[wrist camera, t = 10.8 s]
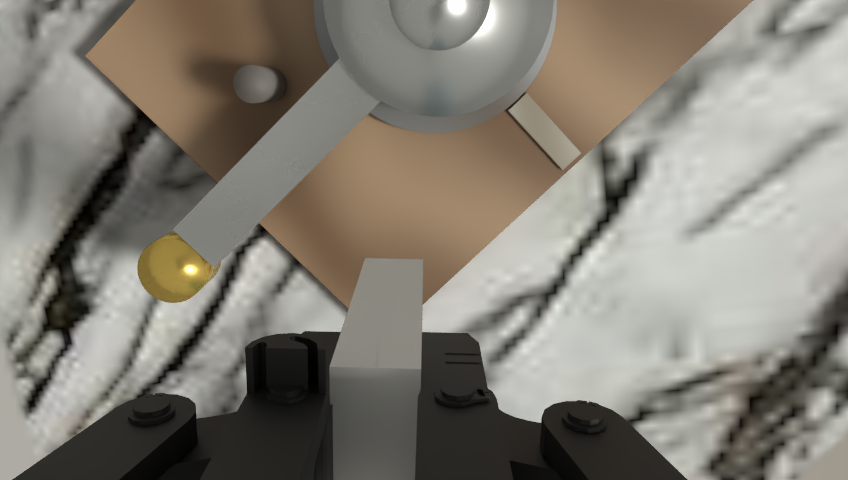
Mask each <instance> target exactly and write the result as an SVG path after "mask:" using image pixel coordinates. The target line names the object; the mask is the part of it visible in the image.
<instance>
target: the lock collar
mask: <svg viewBox="0 0 848 480" xmlns="http://www.w3.org/2000/svg"><path fill="white" fill-rule="evenodd" d="M323 4H324V14H325V19H326V24H327V29H328V32H329V35H330V38H331V41H332V44H333V46H334V48H335V50H336V52H337V54H338V56H339V59H338V60H337V61H336V62H335V63H334V65H333V66H332V67H331V68H330V69H329V70H328V71H327V72H326V73H325V74H324V75H323V76H322V77H321V78H320V79H319V80H318V81H317V82H316V83H315V84H314V85H313V86H312V87H311V88H310V89H309V90H308V91H307V92H306V93H305V94H304V95H303V96H302V97H301V98H300V99H299V100H298V101H297V102H296V103H295V104H294V106H293V107H292V108H291V109H290V110H289V111H288V112H287V113H286V114H285V115H284V116H283V117H282V118H281V119H280V120H279V121H278V122H277V123H276V124H275V125H274V126H273V127H272V128H271V129H270V130H269V131H268V132H267V133H266V134H265V135H264V136H263V137H262V138H261V139H260V140H259V141H258V142H257V143H256V144H255V145H254V146H253V148H252V149H251V150H250V151H249V152H248V153H247V154H246V155H245V156H244V157H243V158H242V159H241V160H240V161H239V162H238V163H237V164H236V165H235V166H234V167H233V168H232V169H231V170H230V171H229V172H228V173H227V174H226V175H225V176H224V177H223V178H222V179H221V180H220V181H219V182H218V183H217V184H216V185H215V186H214V187H213V189H212V190H211V191H210V192H209V193H208V194H207V195H206V196H205V197H204V198H203V199H202V200H201V201H200V202H199V203H198V204H197V205H196V206H195V207H194V208H193V209H192V210H191V211H190V212H189V213H188V214H187V215H186V216H185V217H184V218H183V219H182V220H181V221H180V222H179V223H178V224H177V225H176V226H175V227H174V228H173V231H171V232H170V233H168V234H166V235H165V236H163V237H161V238H160V239H158V240H156V241H155V242H153V243H151V244H150V245H148V246H147V247H146V248H145V249H144V251H143V252H142V254H141V255H140V258H139V261H138V276H139V279H140V281H141V283H142V285H143V287H144V288H145V289H146V291H147V292H148V293H149V294H151V295H152V296H153V297H155V298H157V299H159V300H161V301H165V302H171V303H177V302H182V301H186V300H188V299H190V298H191V297H193V296H194V295H195V294H196V293H197V292H198V291H199V290H200V289H202V288H203V287H204V286H205V285H206V284H207V283H208V282H209V281H210V280H211V279H212V278H213V277H214V276H215V275H216V273H217V272H218V270H219V268H220V264H221V260H222V259H224V258H225V257H226V256H227V255H228V254H229V253H230V252H231V251H232V250H233V249H234V248H235V247H236V246H237V245H238V244H239V243H240V242H241V241H242V240H243V239H244V238H245V237H246V236H247V235H248V234H249V233H250V232H251V231H252V230H253V229H254V228H255V227H256V226H257V225H258V224H259V223H260V222H261V221H262V220H263V219H264V218H265V217H266V216H267V215H268V214H269V213H270V212H271V211H272V210H273V209H274V208H275V207H276V206H277V205H278V204H279V203H280V202H281V201H282V200H283V199H284V198H285V197H286V196H287V195H288V194H289V193H290V192H291V191H292V190H293V189H294V188H295V187H296V186H297V185H298V184H299V183H300V182H301V181H302V180H303V179H304V178H305V177H306V176H307V175H308V174H309V173H310V172H311V171H312V170H313V169H314V168H315V167H316V166H317V165H318V164H319V163H320V162H321V161H322V160H323V159H324V158H325V157H326V156H327V155H328V154H329V153H330V152H331V151H332V150H333V149H334V148H335V147H336V146H337V145H338V144H339V143H340V142H341V141H342V140H343V139H344V138H345V137H346V136H347V135H348V134H349V133H350V132H351V131H352V130H353V129H354V128H355V127H356V126H357V125H358V124H359V123H360V122H361V121H362V120H363V119H364V118H365V117H366V116H367V115H368V114H369V113H370V112H371V111H372V110H373V109H374V108H375V107H376V106H377V105H378V104H379V103H380V102H381V101H382V102H384V103H386V104H388V105H390V106H392V107H394V108H397V109H399V110H402V111H405V112H408V113H412V114H417V115H421V116H432V117H444V116H454V115H460V114H465V113H468V112H471V111H475V110H478V109H480V108H482V107H484V106H486V105H489V104H491V103H493V102H494V101H496V100H497V99H499V98H500V97H502V96H503V95H505V94H506V93H507V92H509V91H510V90H511V89H512V88H513V87H514V86H516V85H517V84H518V83H519V81H520V80H521V79H522V78H523V77H524V76H525V75H526V74H527V72H528V71H529V70H530V68H531V67H532V65H533V64H534V62H535V61H536V59H537V57H538V55H539V53H540V52H541V50H542V48H543V45H544V43H545V40H546V37H547V35H548V32H549V28H550V24H551V20H552V14H553V5H554V0H323Z"/></svg>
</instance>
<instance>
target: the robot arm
mask: <svg viewBox="0 0 848 480" xmlns="http://www.w3.org/2000/svg"><path fill="white" fill-rule="evenodd" d="M422 300H423V259H386V258H365V261H364V264H363V267H362V270H361V273H360V276H359V279H358V282H357V285H356V288H355V291H354V294H353V297H352V300H351V303H350V306H349V309H348V312H347V315H346V318H345V321H344V324H343V327H342V330H341V332H311V331H305V332H303V333H302V334H296V333H288V334H276V335H271V336H266V337H262V338H260V339H257V340H255V341H252V342H251V343H250V344H249V345H248V346H246V347H245V354H246V376H247V395H246V397H245V398H244V400H243V402H242V404H241V406H240V407H239V409H238V411H237V412H234V413H230V414H225V415H220V416H213V417H206V418H199V419H196V406H195V403H194V402H193V401H191V400H190V399H189V398H186V397H183V396H179V395H171V394H165V393H156V394H155V395H153V394H149V395H144V396H142V397H141V398H137V399H134V400H131V401H128V402H126V403H124V404H122V405H120V406H118V407H116V408H115V409H113V410H112V411H111V412H109V413H108V414H106V415H105V416H103V417H102V418H100V419H99V420H98V421H96V422H95V423H93V424H92V425H90V426H89V427H88V428H86V429H85V430H83V431H82V432H80V433H79V434H77V435H76V436H75V437H73V438H72V439H70V440H69V441H67V442H66V443H65V444H63V445H62V446H60V447H59V448H57V449H56V450H54V451H53V452H52V453H50V454H49V455H47V456H46V457H44V458H43V459H42V460H40V461H39V462H37V463H36V464H34V465H33V466H31V467H30V468H29V469H27V470H26V471H24V472H23V473H22V474H20V475H19V476H17V477H16V478H14V479H13V480H687V479H686V478H685V477H684V476H683V475H682V474H681V473H680V472H679V471H678V470H677V469H676V468H675V467H674V466H673V465H671V464H670V463H669V462H668V461H667V460H666V459H665V458H664V457H663V456H662V455H661V454H660V453H659V452H658V451H657V450H656V449H655V448H654V447H653V446H652V445H651V444H650V443H649V442H648V441H647V440H646V439H645V438H644V437H642V436H641V435H640V434H639V433H638V432H637V431H636V430H635V429H634V428H633V427H632V426H631V425H630V424H629V423H628V422H627V421H626V420H625V419H624V418H623V417H621V416H620V415H619V414H617V413H616V412H614V411H613V410H611V409H608V408H606V407H603V406H600V405H599V404H597V403H593V402H589V403H587V401H580V400H578V401H566V402H561V403H557V404H553V405H551V406H550V407H548V408H547V409H545V410H544V413H543V415H542V422H541V423H537V422H532V421H527V420H523V419H519V418H515V417H513V416H510V415H508V414H506V413H504V412H502V411H501V410H499V408H498V403H497V399H496V397H495V395H494V394H493V392H492V391H491V390H489V389H488V388H487V383H486V378H485V373H484V367H483V362H482V357H481V352H480V346H479V343H478V342H477V341H476V340H475V339H474V338H472V337H471V336H470V335H469V334H468V333H430V332H422Z"/></svg>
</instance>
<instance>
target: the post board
mask: <svg viewBox="0 0 848 480" xmlns="http://www.w3.org/2000/svg"><path fill="white" fill-rule="evenodd" d="M752 1H753V0H554V5H553V14H552V20H551V24H550V28H549V32H548V35H547V37H546V40H545V43H544V45H543V48H542V50H541V52H540V53H539V55H538V57H537V59H536V61H535V62H534V64H533V65H532V67H531V68H530V70H529V71H528V72H527V74H526V75H525V76H524V77H523V78H522V79H521V80H520V81H519V83H518V84H517V85H516V86H514V87H513V88H512V89H511V90H510V91H509V92H507V93H506V94H505V95H503V96H502V97H500V98H499V99H497V100H496V101H494V102H493V103H491V104H489V105H486V106H484V107H482V108H480V109H478V110H475V111H471V112H468V113H465V114H460V115H454V116H444V117H432V116H421V115H417V114H412V113H408V112H405V111H402V110H399V109H397V108H394V107H392V106H390V105H388V104H386V103H384V102H382V101H381V102H380V103H379V104H378V105H377V106H376V107H375V108H374V109H373V110H372V111H371V112H370V113H369V114H368V115H367V116H366V117H365V118H364V119H363V120H362V121H361V122H360V123H359V124H358V125H357V126H356V127H355V128H354V129H353V130H352V131H351V132H350V133H349V134H348V135H347V136H346V137H345V138H344V139H343V140H342V141H341V142H340V143H339V144H338V145H337V146H336V147H335V148H334V149H333V150H332V151H331V152H330V153H329V154H328V155H327V156H326V157H325V158H324V159H323V160H322V161H321V162H320V163H319V164H318V165H317V166H316V167H315V168H314V169H313V170H312V171H311V172H310V173H309V174H308V175H307V176H306V177H305V178H304V179H303V180H302V181H301V182H300V183H299V184H298V185H297V186H296V187H295V188H294V189H293V190H292V191H291V192H290V193H289V194H288V195H287V196H286V197H285V198H284V199H283V200H282V201H281V202H280V203H279V204H278V205H277V206H276V207H275V208H274V209H273V210H272V211H271V212H270V213H269V214H268V215H267V216H266V217H265V218H264V219H263V220H262V221H261V222H260V224H261V225H262V226H263V227H264V228H265V229H266V230H267V231H268V232H269V233H270V234H271V235H272V236H273V237H274V238H275V239H276V240H277V241H278V242H279V243H280V244H281V245H282V246H284V247H285V248H286V249H287V250H288V251H289V252H290V253H291V254H292V255H293V256H294V257H295V258H296V259H297V260H298V261H299V262H300V263H301V264H302V265H303V266H304V267H305V268H306V269H307V270H309V271H310V272H311V273H312V274H313V275H314V276H315V277H316V278H317V279H318V280H319V281H320V282H321V283H322V284H323V285H324V286H325V287H326V288H327V289H328V290H329V291H330V292H331V293H332V294H334V295H335V296H336V297H337V298H338V299H339V300H340V301H341V302H342V303H343V304H344V305H345V306H346V307H347V308H348V309H349V306H350V303H351V300H352V297H353V294H354V291H355V288H356V285H357V282H358V279H359V276H360V273H361V270H362V267H363V264H364V261H365V258H386V259H423V300H422V305H423V304H424V303H425V302H426V301H427V300H428V299H429V298H430V297H432V296H433V295H434V294H435V293H436V292H437V291H438V290H439V289H440V288H441V287H442V286H444V285H445V284H446V283H447V282H448V281H449V280H450V279H451V278H452V277H453V276H454V275H455V274H457V273H458V272H459V271H460V270H461V269H462V268H463V267H464V266H465V265H466V264H467V263H468V262H470V261H471V260H472V259H473V258H474V257H475V256H476V255H477V254H478V253H479V252H480V251H482V250H483V249H484V248H485V247H486V246H487V245H488V244H489V243H490V242H491V241H492V240H493V239H495V238H496V237H497V236H498V235H499V234H500V233H501V232H502V231H503V230H504V229H505V228H506V227H508V226H509V225H510V224H511V223H512V222H513V221H514V220H515V219H516V218H517V217H518V216H520V215H521V214H522V213H523V212H524V211H525V210H526V209H527V208H528V207H529V206H530V205H531V204H533V203H534V202H535V201H536V200H537V199H538V198H539V197H540V196H541V195H542V194H543V193H544V192H546V191H547V190H548V189H549V188H550V187H551V186H552V185H553V184H554V183H555V182H556V181H558V180H559V179H560V178H561V177H562V176H563V175H564V174H565V173H566V172H567V171H568V170H569V169H571V168H572V167H573V166H574V165H575V164H576V163H577V162H578V161H579V160H580V159H581V158H583V157H584V156H585V155H586V154H587V153H588V152H589V151H590V150H591V149H592V148H593V147H594V146H596V145H597V144H598V143H599V142H600V141H601V140H602V139H603V138H604V137H605V136H606V135H607V134H609V133H610V132H611V131H612V130H613V129H614V128H615V127H616V126H617V125H618V124H619V123H621V122H622V121H623V120H624V119H625V118H626V117H627V116H628V115H629V114H630V113H631V112H632V111H634V110H635V109H636V108H637V107H638V106H639V105H640V104H641V103H642V102H643V101H644V100H645V99H647V98H648V97H649V96H650V95H651V94H652V93H653V92H654V91H655V90H656V89H657V88H659V87H660V86H661V85H662V84H663V83H664V82H665V81H666V80H667V79H668V78H669V77H670V76H672V75H673V74H674V73H675V72H676V71H677V70H678V69H679V68H680V67H681V66H682V65H683V64H685V63H686V62H687V61H688V60H689V59H690V58H691V57H692V56H693V55H694V54H695V53H697V52H698V51H699V50H700V49H701V48H702V47H703V46H704V45H705V44H706V43H707V42H708V41H710V40H711V39H712V38H713V37H714V36H715V35H716V34H717V33H718V32H719V31H720V30H721V29H723V28H724V27H725V26H726V25H727V24H728V23H729V22H730V21H731V20H732V19H733V18H735V17H736V16H737V15H738V14H739V13H740V12H741V11H742V10H743V9H744V8H745V7H746V6H748V5H749V4H750V3H751V2H752ZM86 57H87V58H88V59H89V60H90V61H91V62H92V63H93V64H94V65H95V66H96V67H97V68H98V69H99V70H100V71H101V72H102V73H103V74H104V75H105V76H106V77H107V78H108V79H110V80H111V81H112V82H113V83H114V84H115V85H116V86H117V87H118V88H119V89H120V90H121V91H122V92H123V93H124V94H125V95H126V96H127V97H128V98H129V99H130V100H131V101H132V102H133V103H135V104H136V105H137V106H138V107H139V108H140V109H141V110H142V111H143V112H144V113H145V114H146V115H147V116H148V117H149V118H150V119H151V120H152V121H153V122H154V123H155V124H156V125H157V126H158V127H160V128H161V129H162V130H163V131H164V132H165V133H166V134H167V135H168V136H169V137H170V138H171V139H172V140H173V141H174V142H175V143H176V144H177V145H178V146H179V147H180V148H181V149H182V150H183V151H185V152H186V153H187V154H188V155H189V156H190V157H191V158H192V159H193V160H194V161H195V162H196V163H197V164H198V165H199V166H200V167H201V168H202V169H203V170H204V171H205V172H206V173H207V174H208V175H210V176H211V177H212V178H213V179H214V180H215V181H216V182H217V183H218V182H219V181H220V180H221V179H222V178H223V177H224V176H225V175H226V174H227V173H228V172H229V171H230V170H231V169H232V168H233V167H234V166H235V165H236V164H237V163H238V162H239V161H240V160H241V159H242V158H243V157H244V156H245V155H246V154H247V153H248V152H249V151H250V150H251V149H252V148H253V146H254V145H255V144H256V143H257V142H258V141H259V140H260V139H261V138H262V137H263V136H264V135H265V134H266V133H267V132H268V131H269V130H270V129H271V128H272V127H273V126H274V125H275V124H276V123H277V122H278V121H279V120H280V119H281V118H282V117H283V116H284V115H285V114H286V113H287V112H288V111H289V110H290V109H291V108H292V107H293V106H294V104H295V103H296V102H297V101H298V100H299V99H300V98H301V97H302V96H303V95H304V94H305V93H306V92H307V91H308V90H309V89H310V88H311V87H312V86H313V85H314V84H315V83H316V82H317V81H318V80H319V79H320V78H321V77H322V76H323V75H324V74H325V73H326V72H327V71H328V70H329V69H330V68H331V67H332V66H333V65H334V63H335V62H336V61H337V60H338V59H339V56H338V54H337V52H336V50H335V48H334V46H333V44H332V41H331V38H330V35H329V32H328V29H327V24H326V19H325V14H324V4H323V0H135V2H134V3H133V4H132V5H131V6H130V7H129V8H128V9H127V10H126V11H125V13H124V14H123V15H122V16H121V17H120V18H119V19H118V20H117V21H116V23H115V24H114V25H113V26H112V27H111V28H110V29H109V30H108V31H107V32H106V34H105V35H104V36H103V37H102V38H101V39H100V40H99V41H98V42H97V43H96V45H95V46H94V47H93V48H92V49H91V50H90V51H89V52H88V53H87V55H86Z"/></svg>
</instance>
